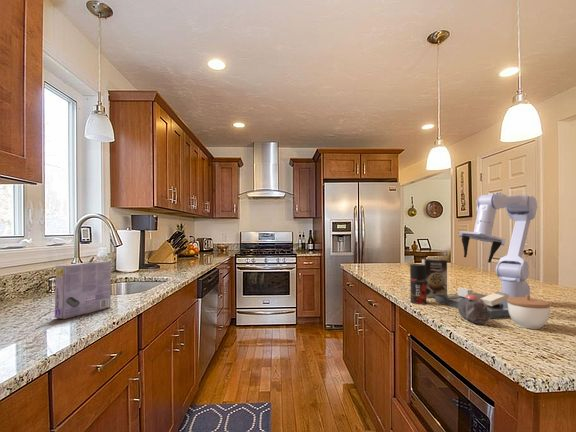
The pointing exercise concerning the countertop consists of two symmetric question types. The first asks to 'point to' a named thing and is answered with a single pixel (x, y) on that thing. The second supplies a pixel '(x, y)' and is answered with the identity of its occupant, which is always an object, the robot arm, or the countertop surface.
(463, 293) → the fader knob
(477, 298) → the button
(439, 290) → the coffee box
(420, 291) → the deodorant
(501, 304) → the panel
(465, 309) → the perforated stone tool
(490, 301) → the beige rectangular block
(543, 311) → the lidded jar
